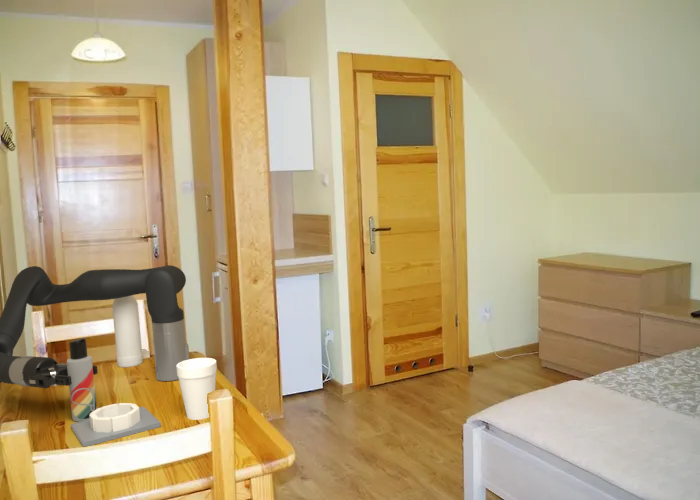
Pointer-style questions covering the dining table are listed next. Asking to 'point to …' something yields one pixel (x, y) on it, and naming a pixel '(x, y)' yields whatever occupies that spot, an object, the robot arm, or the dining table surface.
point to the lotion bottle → (81, 381)
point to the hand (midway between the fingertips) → (83, 375)
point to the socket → (114, 423)
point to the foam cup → (197, 385)
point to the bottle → (127, 332)
